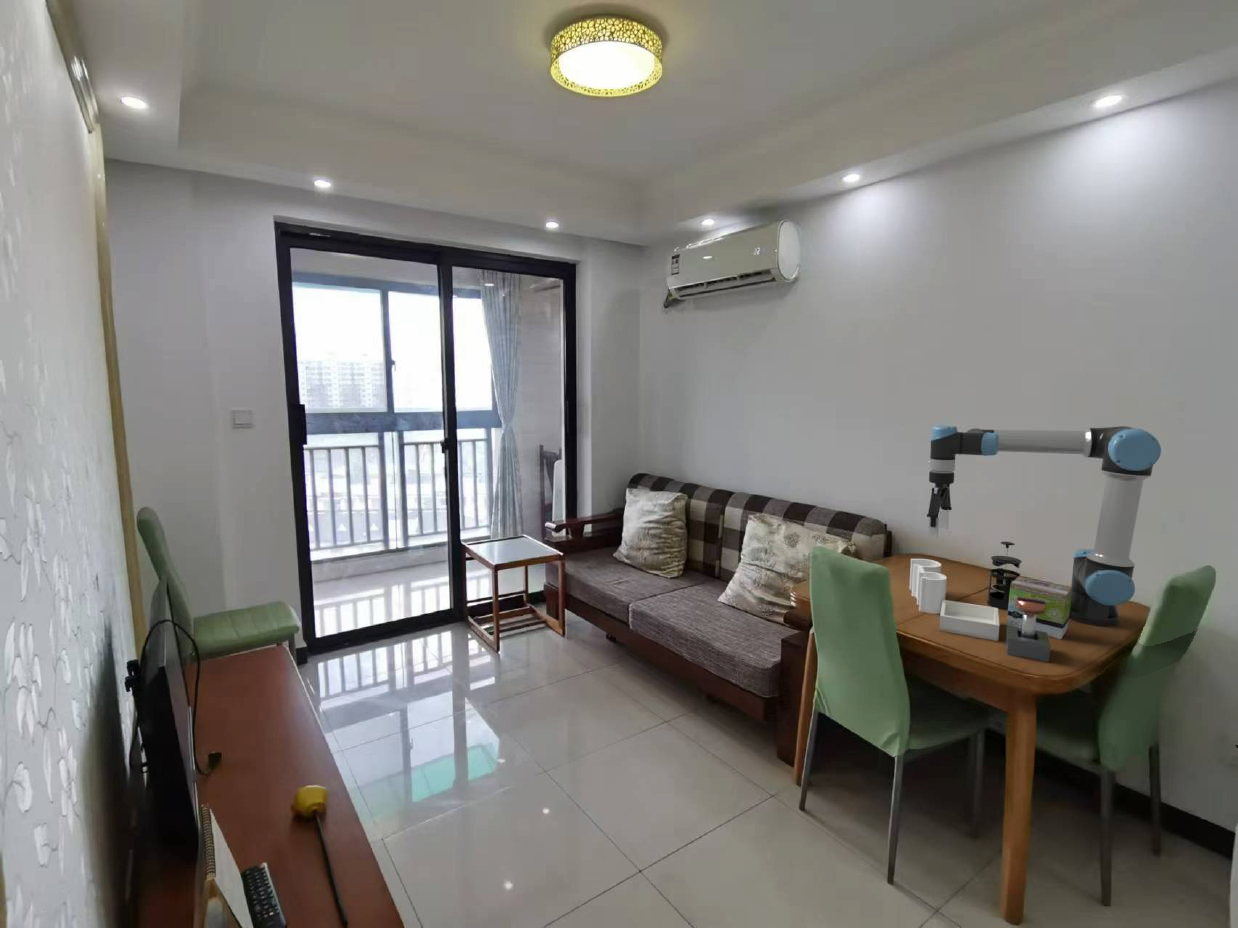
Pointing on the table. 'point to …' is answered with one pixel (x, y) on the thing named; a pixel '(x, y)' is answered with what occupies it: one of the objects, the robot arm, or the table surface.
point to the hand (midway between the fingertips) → (938, 532)
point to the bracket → (927, 585)
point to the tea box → (1055, 606)
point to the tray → (969, 620)
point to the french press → (1002, 590)
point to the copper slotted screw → (1029, 614)
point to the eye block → (1027, 644)
